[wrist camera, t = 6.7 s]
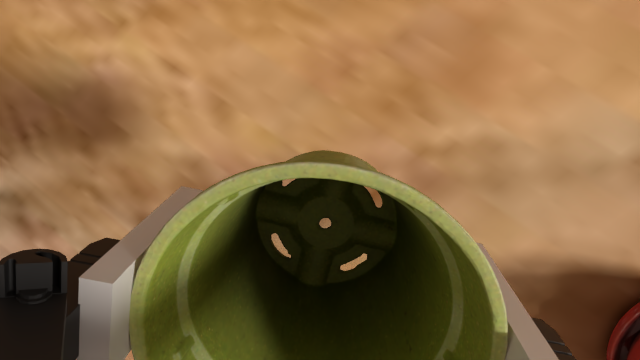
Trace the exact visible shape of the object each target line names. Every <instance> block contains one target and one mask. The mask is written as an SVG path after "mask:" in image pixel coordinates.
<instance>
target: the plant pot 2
mask: <svg viewBox="0 0 640 360" xmlns="http://www.w3.org/2000/svg"><path fill="white" fill-rule="evenodd" d="M607 360H640V302H639V303H638V304H636V305H635V306H633V307H632V308H631V309H630V310H629V311H628V312H627V313H626V314H625V315H624V316H623V317H622V318H621V319H620V320H619V322H618V323H617V325H616V326H615V328H614V330H613V332H612V334H611V337H610V339H609V343H608V347H607Z"/></svg>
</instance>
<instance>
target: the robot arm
mask: <svg viewBox="0 0 640 360" xmlns="http://www.w3.org/2000/svg"><path fill="white" fill-rule="evenodd" d="M201 192H202V190H198V189H193V188H188V187H182V186H181V187H180V188H179V189H178V190H177V191H176V192H174V193H173V194H172V195H171V196H170V197H169V198H168V199H167V200H165V201H164V202H163V203H162V204H161V205H160V206H159V207H158V208H156V209H155V210H154V211H153V212H152V213H151V214H150V215H149V216H147V217H146V218H145V219H144V220H143V221H142V222H141V223H140V224H138V225H137V226H136V227H135V228H134V229H133V230H132V231H131V232H129V233H128V234H127V235H126V236H125V237H124V238H123V239H122V240H116V239H111V238H104V239H101V240H99V241H96V242H94V243H91V244H89V245H88V246H87V247H86V248H84V249H83V250H82V251H81V252H80V253H79V254H77V255H76V256H74V257H73V258H72V259H71V260H70V261H67V258H66V256H65V255H63V254H62V253H60V252H57V251H53V250H49V249H31V250H23V251H20V252H16V253H12V254H10V255H8V256H6V257H5V258H3V259H2V260H1V261H0V360H76V358H77V360H124V359H125V358H126V356H127V355H128V353H129V352H130V350H131V343H130V336H129V312H130V299H131V292H132V288H133V283H134V279H135V277H136V274H137V270H138V268H139V266H140V264H141V261H142V259H143V257H144V255H145V253H146V251H147V249H148V248H149V246H150V244H151V243H152V241H153V240H154V238H155V237H156V235H157V234H158V233H159V231H160V230H161V229H162V228H163V226H164V225H165V224H166V223H167V222H168V221H169V220H170V218H171V217H172V216H173V215H174V214H175V213H177V212H178V211H179V210H180V209H181V208H182V207H183V206H184V205H186V204H187V203H188V202H189V201H191V200H192V199H193V198H195V197H196V196H197V195H198V194H200V193H201ZM476 244H477V245H478V246H479V248H480V249H481V251H482V252H483V254H484V255H485V257H486V258H487V260H488V262H489V264H490V265H491V267H492V269H493V271H494V274H495V276H496V278H497V281H498V283H499V286H500V289H501V292H502V295H503V299H504V303H505V307H506V313H507V324H508V344H507V352H506V356H505V360H576V359H575V357H574V356H572V353H571V352H570V350H569V349H568V348H567V346H565V343H564V342H563V341H562V339H561V338H560V336H559V335H558V334H557V332H556V331H555V330H554V329H552V328H551V327H550V326H549V325H547V324H546V323H545V322H544V321H543V320H541V319H536V318H531V317H530V315H529V314H528V312H527V311H526V309H525V308H524V306H523V305H522V303H521V302H520V300H519V299H518V297H517V296H516V294H515V293H514V291H513V290H512V288H511V287H510V285H509V284H508V282H507V281H506V279H505V278H504V276H503V275H502V273H501V272H500V270H499V269H498V267H497V266H496V264H495V263H494V261H493V260H492V258H491V257H490V255H489V254H488V252H487V251H486V249H485V247H484V246H483V244H480V243H476Z"/></svg>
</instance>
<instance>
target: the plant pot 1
mask: <svg viewBox="0 0 640 360" xmlns="http://www.w3.org/2000/svg"><path fill="white" fill-rule="evenodd" d="M294 178H297V179H295V180H294V181H292V182H290V183H289V184H288V185H287V186H285V187H284V186H282V180H285V179H294ZM364 186H366V187H370V188H373V189H375V190H377V191H378V193H379V194H380V196H381V198H382V203H383V204H382V207H381V208H378V207H376V205H375V203H374V201H373V198H372V197H371V195H370V193H369V192H368V190H367V189H366V188H365V187H364ZM323 218H329V219H330V220H331V226H330V227H328V228H322V227H321V226H320V225H319V222H320V220H321V219H323ZM273 233H276V234H278V236H279V239H280V240H281V242H282V244H283V246H284V247H285V249H287V251H288V254H290V255H291V258H289V257H286V256H284V255H283V254H282V253H280V252H279V251H278V250H277V248H276V247H275V246H274V244H273V242H272V240H271V235H272V234H273ZM363 253H365V254H367V260H365V261H364V262H362V263H361V264H359V265H357V266H356V267H355V268H354V269H351V270H348V271H342V270H340V266H341V265H343V264H346V263H348V262H350V261H352V260H354V259H356V258H358V257H360V256H361V255H362V254H363ZM129 336H130V343H131V349H132V354H133V357H134V360H505V356H506V352H507V344H508V324H507V313H506V307H505V303H504V299H503V295H502V292H501V289H500V286H499V283H498V281H497V278H496V276H495V274H494V271H493V269H492V267H491V265H490V264H489V262H488V260H487V258H486V257H485V255H484V254H483V252H482V251H481V249H480V248H479V246H478V245H477V244H476V242H475V241H474V240H473V238H472V237H471V236H470V235H469V234H468V232H467V231H466V230H465V229H464V228H463V227H462V226H461V225H460V224H459V223H458V222H457V221H456V220H455V219H454V218H453V217H452V216H451V215H450V214H449V213H447V212H446V211H445V210H444V209H443V208H442V207H441V206H440V205H438V204H437V203H436V202H434V201H433V200H431V199H430V198H429V197H427V196H426V195H424V194H422V193H421V192H419V191H418V190H416V189H415V188H413V187H411V186H409V185H407V184H405V183H403V182H401V181H399V180H397V179H395V178H392V177H390V176H387V175H385V174H383V173H380V172H378V171H377V170H376V169H375V168H374V167H372V166H371V165H370V164H368V163H367V162H365V161H363V160H362V159H360V158H357V157H355V156H352V155H349V154H345V153H341V152H334V151H324V150H323V151H313V152H308V153H304V154H301V155H298V156H296V157H294V158H292V159H290V160H288V161H286V162H280V163H275V164H269V165H265V166H261V167H256V168H253V169H250V170H247V171H244V172H241V173H238V174H235V175H233V176H231V177H228V178H226V179H224V180H222V181H220V182H218V183H216V184H214V185H212V186H211V187H209V188H208V189H206V190H204V191H203V192H201V193H200V194H198V195H197V196H196V197H195V198H193V199H192V200H191V201H189V202H188V203H187V204H186V205H184V206H183V207H182V208H181V209H180V210H179V211H178V212H177V213H175V214H174V215H173V216H172V217H171V218H170V220H169V221H168V222H167V223H166V224H165V225H164V226H163V228H162V229H161V230H160V231H159V233H158V234H157V235H156V237H155V238H154V240H153V241H152V243H151V244H150V246H149V248H148V249H147V251H146V253H145V255H144V257H143V259H142V261H141V264H140V266H139V268H138V270H137V274H136V277H135V279H134V283H133V288H132V292H131V299H130V312H129Z"/></svg>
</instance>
